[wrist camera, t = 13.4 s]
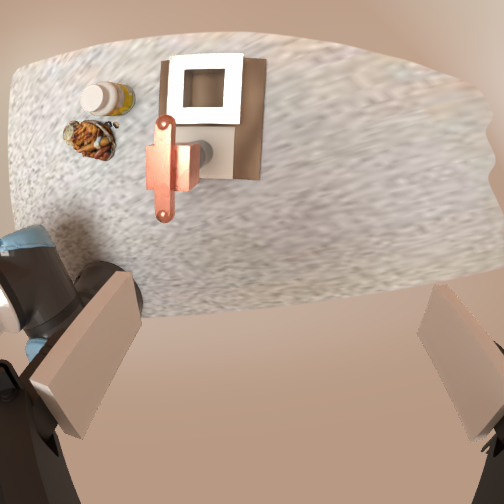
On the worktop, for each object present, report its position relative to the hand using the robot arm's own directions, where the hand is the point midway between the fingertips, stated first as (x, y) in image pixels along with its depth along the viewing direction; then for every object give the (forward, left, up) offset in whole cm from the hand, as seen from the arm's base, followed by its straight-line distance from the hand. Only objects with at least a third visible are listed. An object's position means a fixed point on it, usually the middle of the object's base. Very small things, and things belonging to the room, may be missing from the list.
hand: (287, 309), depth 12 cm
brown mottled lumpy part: (-32, +5, -37) cm, 49 cm away
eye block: (-10, +12, -36) cm, 39 cm away
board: (-10, +8, -37) cm, 39 cm away
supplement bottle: (-25, +12, -37) cm, 46 cm away
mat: (-11, +3, -36) cm, 37 cm away
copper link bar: (-11, +2, -35) cm, 37 cm away
